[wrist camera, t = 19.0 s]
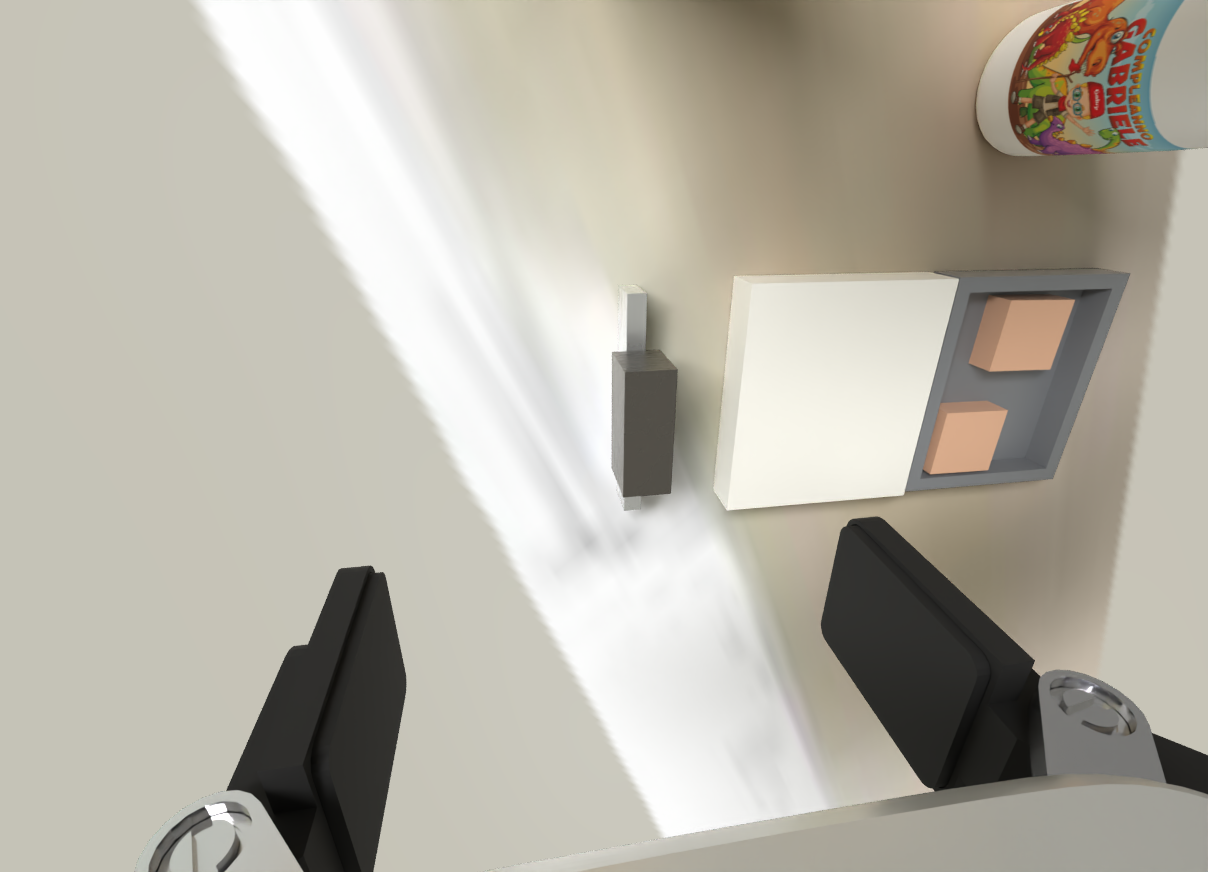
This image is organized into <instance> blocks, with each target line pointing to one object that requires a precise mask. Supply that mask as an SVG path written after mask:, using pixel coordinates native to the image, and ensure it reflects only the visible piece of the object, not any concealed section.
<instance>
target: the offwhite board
mask: <svg viewBox="0 0 1208 872" xmlns="http://www.w3.org/2000/svg"><path fill="white" fill-rule="evenodd" d="M958 282H959V279H958V278H953V277H949V276H945V275H940V274H936V273H931V272H892V273H845V274H798V275H751V276H734V281H733V292H732V302H731V312H730V322H729V333H728V343H727V353H726V363H725V374H724V384H723V394H722V404H721V415H720V425H719V435H718V445H717V456H716V466H715V476H714V486H713V490H714V492H715V493H716V495H717V496H718V498H719V499H720V501H721V502H722V504H723V505H724V507H725V508H726V510H737V509H749V508H761V507H772V506H784V505H796V504H807V503H819V502H831V501H842V500H854V499H866V498H877V497H889V496H901V495H904V492H905V488H906V484H907V480H908V476H909V472H910V468H911V464H912V460H913V457H914V453H915V449H916V445H917V441H918V437H919V433H920V429H921V426H922V422H923V418H924V414H925V410H926V406H927V402H928V398H929V395H930V391H931V387H932V383H933V379H934V375H935V371H936V367H937V363H938V360H939V356H940V352H941V348H942V344H943V340H944V336H945V332H946V329H947V325H948V321H949V317H950V313H951V309H952V305H953V301H954V297H955V294H956V290H957V286H958Z"/></svg>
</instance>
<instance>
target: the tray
mask: <svg viewBox="0 0 1208 872" xmlns="http://www.w3.org/2000/svg"><path fill="white" fill-rule="evenodd" d="M934 273H936V274H940V275H945V276H949V277H953V278H958V279H959V282H958V286H957V290H956V294H955V297H954V301H953V305H952V309H951V313H950V317H949V321H948V325H947V329H946V332H945V336H944V340H943V344H942V348H941V352H940V356H939V360H938V363H937V367H936V371H935V375H934V379H933V383H932V387H931V391H930V395H929V398H928V402H927V406H926V410H925V414H924V418H923V422H922V426H921V429H920V433H919V437H918V441H917V445H916V449H915V453H914V457H913V460H912V464H911V468H910V472H909V476H908V480H907V484H906V488H905V491H917V490H928V489H940V488H952V487H964V486H976V485H987V484H999V483H1011V482H1023V481H1035V480H1046V479H1053V477H1054V474H1055V472H1056V469H1057V466H1058V464H1059V461H1060V458H1061V456H1062V453H1063V450H1064V448H1065V445H1066V442H1067V440H1068V437H1069V435H1070V432H1071V429H1072V427H1073V424H1074V421H1075V419H1076V416H1077V413H1078V411H1079V408H1080V405H1081V403H1082V400H1083V397H1084V395H1085V392H1086V390H1087V387H1088V384H1089V382H1090V379H1091V376H1092V374H1093V371H1094V368H1095V366H1096V363H1097V360H1098V358H1099V355H1100V352H1101V350H1102V347H1103V344H1104V342H1105V339H1106V337H1107V334H1108V331H1109V329H1110V326H1111V323H1112V321H1113V318H1114V315H1115V313H1116V310H1117V307H1118V305H1119V302H1120V299H1121V297H1122V294H1123V292H1124V289H1125V286H1126V284H1127V281H1128V278H1129V276H1130V273H1124V272H1118V271H1111V270H1105V269H1098V268H1079V269H1032V270H985V271H938V272H934ZM1022 294H1051V295H1056V296H1061V297H1065V298H1070V299H1074V300H1075V302H1074V305H1073V307H1072V310H1071V313H1070V316H1069V319H1068V321H1067V324H1066V327H1065V330H1064V333H1063V335H1062V338H1061V341H1060V344H1059V347H1058V349H1057V352H1056V355H1055V358H1054V360H1053V363H1052V366H1051V369H1050V370H1020V371H991V372H989V371H987V370H984V369H982V368H979V367H977V366H974V365H972V364H969V360H970V357H971V353H972V350H973V347H974V343H975V340H976V337H977V333H978V330H979V326H980V323H981V320H982V316H983V313H984V309H985V306H986V303H987V299H988V296H989V295H1022ZM970 401H989V402H991V403H993V404H996V405H998V406H1000V407H1002V408H1004V409H1006V410H1008V412H1007V415H1006V418H1005V421H1004V424H1003V427H1002V430H1001V433H1000V436H999V439H998V442H997V445H996V448H995V451H994V454H993V457H992V460H991V463H990V466H989V469H988V470H984V471H970V472H956V473H942V474H929V473H928V472H926V471H925V470H923V467H924V463H925V459H926V456H927V452H928V448H929V444H930V441H931V437H932V433H933V429H934V426H935V422H936V418H937V414H938V411H939V407H940V403H950V402H970Z"/></svg>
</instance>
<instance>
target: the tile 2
mask: <svg viewBox="0 0 1208 872" xmlns="http://www.w3.org/2000/svg"><path fill="white" fill-rule="evenodd" d="M1074 302H1075V300H1074V299H1070V298H1065V297H1061V296H1056V295H1051V294H1022V295H989V296H988V299H987V303H986V306H985V309H984V313H983V316H982V320H981V323H980V326H979V330H978V333H977V337H976V340H975V343H974V347H973V350H972V353H971V357H970V360H969V364H972V365H974V366H977V367H979V368H982V369H984V370H987V371H989V372H991V371H1020V370H1050V369H1051V366H1052V363H1053V360H1054V358H1055V355H1056V352H1057V349H1058V347H1059V344H1060V341H1061V338H1062V335H1063V333H1064V330H1065V327H1066V324H1067V321H1068V319H1069V316H1070V313H1071V310H1072V307H1073V305H1074Z"/></svg>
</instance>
